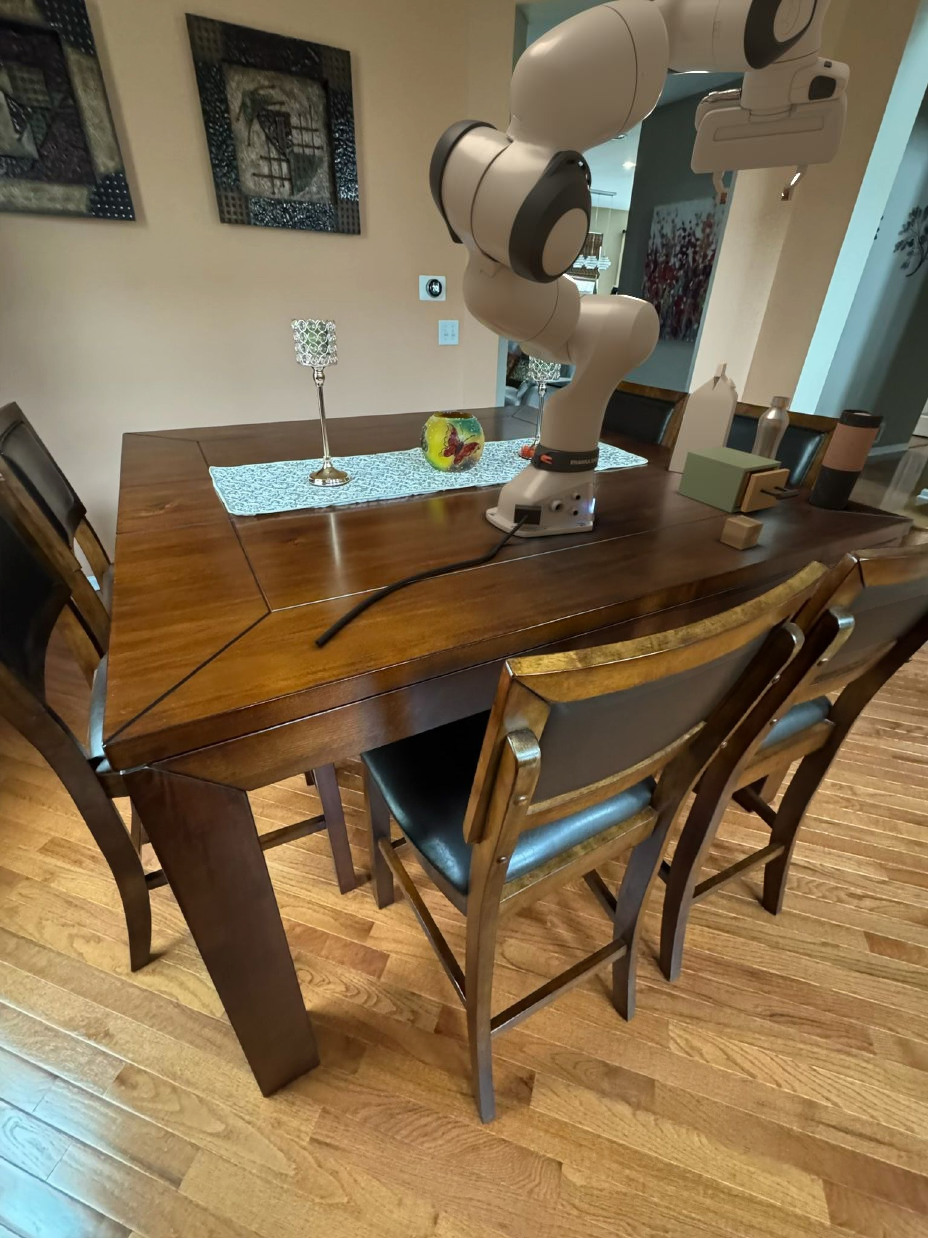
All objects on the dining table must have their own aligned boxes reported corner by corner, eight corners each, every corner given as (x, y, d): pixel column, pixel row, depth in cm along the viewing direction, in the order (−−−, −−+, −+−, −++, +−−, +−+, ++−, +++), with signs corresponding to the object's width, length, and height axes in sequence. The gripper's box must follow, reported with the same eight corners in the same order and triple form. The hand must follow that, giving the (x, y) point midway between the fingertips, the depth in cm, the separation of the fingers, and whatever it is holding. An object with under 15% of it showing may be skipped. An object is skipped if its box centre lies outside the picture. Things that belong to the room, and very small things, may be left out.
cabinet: (766, 504, 121) (781, 462, 116) (731, 512, 115) (744, 468, 110) (712, 486, 132) (724, 446, 127) (677, 492, 126) (687, 451, 121)
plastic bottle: (774, 485, 134) (803, 400, 124) (747, 484, 134) (774, 399, 124) (762, 477, 140) (789, 395, 129) (736, 476, 140) (761, 394, 129)
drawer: (798, 512, 115) (812, 476, 111) (766, 520, 110) (779, 482, 105) (725, 487, 128) (735, 454, 124) (693, 493, 123) (702, 459, 119)
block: (740, 550, 98) (748, 526, 96) (719, 541, 101) (726, 518, 99) (755, 545, 100) (763, 523, 98) (734, 537, 103) (742, 515, 101)
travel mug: (809, 506, 121) (846, 413, 110) (805, 496, 127) (839, 407, 117) (848, 512, 119) (889, 417, 108) (842, 501, 125) (879, 411, 114)
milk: (677, 460, 151) (701, 359, 138) (720, 467, 147) (750, 363, 133) (668, 470, 142) (693, 362, 129) (713, 478, 138) (745, 367, 124)
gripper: (693, 100, 77) (681, 213, 88) (860, 78, 69) (823, 205, 80) (702, 86, 80) (689, 197, 91) (862, 64, 72) (827, 188, 83)
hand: (753, 201), depth 86 cm, fingers open, 8 cm apart
